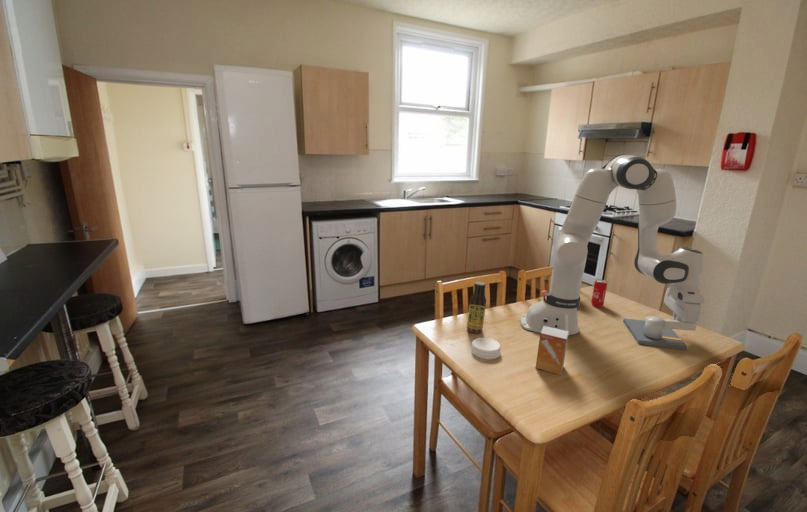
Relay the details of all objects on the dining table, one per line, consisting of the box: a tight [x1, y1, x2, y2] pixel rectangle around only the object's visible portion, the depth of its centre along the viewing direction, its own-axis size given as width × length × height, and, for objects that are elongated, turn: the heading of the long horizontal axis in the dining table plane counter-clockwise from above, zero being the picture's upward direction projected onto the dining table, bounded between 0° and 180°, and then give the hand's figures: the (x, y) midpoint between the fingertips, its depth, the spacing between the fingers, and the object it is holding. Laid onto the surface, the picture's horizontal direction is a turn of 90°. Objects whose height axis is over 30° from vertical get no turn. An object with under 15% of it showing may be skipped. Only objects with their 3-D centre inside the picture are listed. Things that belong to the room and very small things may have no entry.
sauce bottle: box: [466, 281, 487, 334], centre depth 149 cm, size 6×6×20 cm
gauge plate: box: [622, 317, 688, 351], centre depth 151 cm, size 16×20×2 cm
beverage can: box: [591, 279, 608, 308], centre depth 178 cm, size 5×5×12 cm
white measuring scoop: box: [643, 315, 698, 339], centre depth 145 cm, size 17×6×6 cm, turn 83°
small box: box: [535, 326, 570, 376], centre depth 125 cm, size 8×6×13 cm
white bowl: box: [471, 337, 502, 360], centre depth 135 cm, size 10×10×4 cm
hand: (676, 324), depth 147 cm, fingers closed
